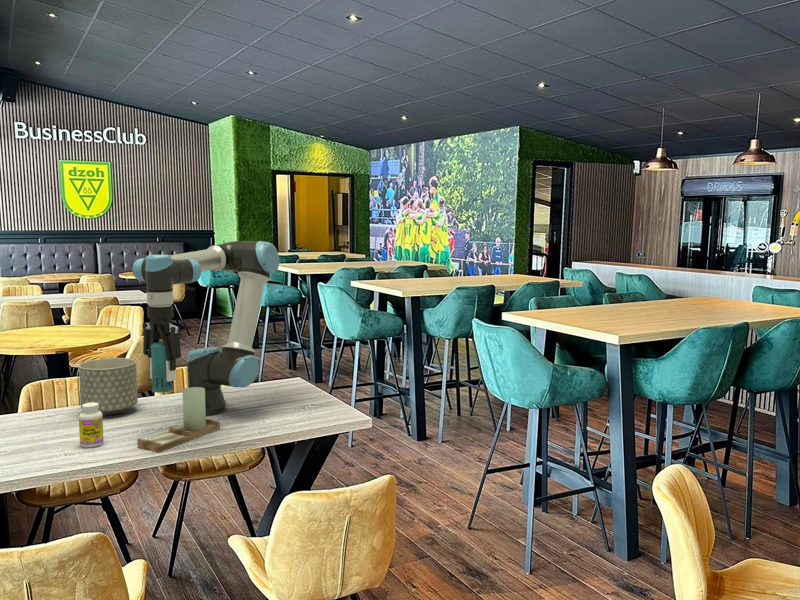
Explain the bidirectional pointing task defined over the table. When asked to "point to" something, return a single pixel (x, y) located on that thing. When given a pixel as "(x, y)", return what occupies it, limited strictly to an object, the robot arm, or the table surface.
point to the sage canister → (194, 409)
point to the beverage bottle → (159, 367)
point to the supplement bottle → (91, 425)
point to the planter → (109, 384)
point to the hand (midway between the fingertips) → (162, 379)
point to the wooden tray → (175, 437)
